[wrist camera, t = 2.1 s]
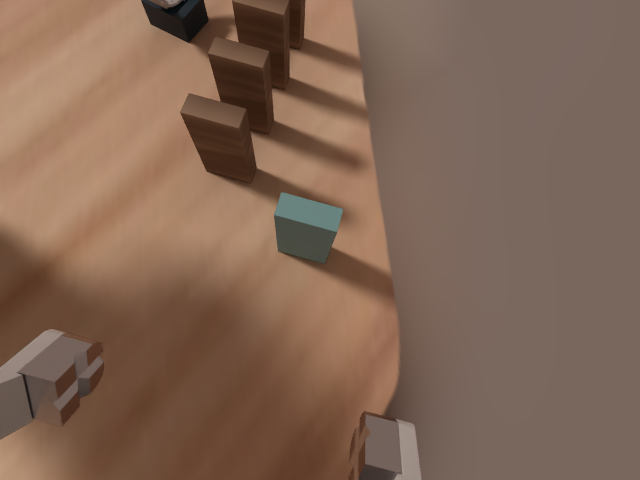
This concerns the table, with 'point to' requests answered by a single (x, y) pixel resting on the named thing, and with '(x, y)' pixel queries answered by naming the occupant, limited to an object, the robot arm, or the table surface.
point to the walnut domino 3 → (220, 137)
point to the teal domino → (306, 227)
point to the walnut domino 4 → (296, 23)
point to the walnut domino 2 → (244, 80)
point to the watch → (177, 16)
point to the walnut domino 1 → (266, 33)
